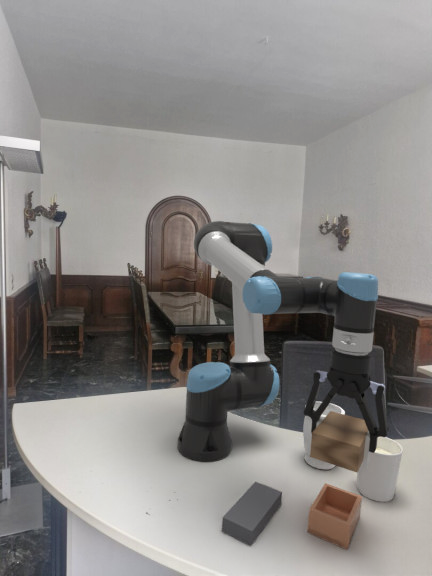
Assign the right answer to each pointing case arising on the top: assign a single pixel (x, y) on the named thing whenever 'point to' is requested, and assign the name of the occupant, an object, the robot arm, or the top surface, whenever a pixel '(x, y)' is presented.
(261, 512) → the block
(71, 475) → the top surface
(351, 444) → the brown wooden block
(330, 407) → the jar
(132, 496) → the top surface
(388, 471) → the candle holder
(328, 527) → the dish
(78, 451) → the top surface
